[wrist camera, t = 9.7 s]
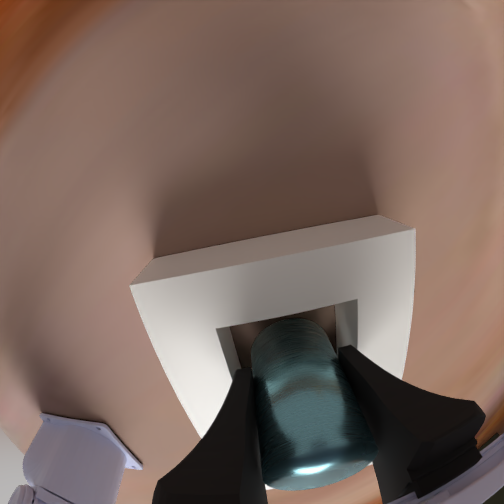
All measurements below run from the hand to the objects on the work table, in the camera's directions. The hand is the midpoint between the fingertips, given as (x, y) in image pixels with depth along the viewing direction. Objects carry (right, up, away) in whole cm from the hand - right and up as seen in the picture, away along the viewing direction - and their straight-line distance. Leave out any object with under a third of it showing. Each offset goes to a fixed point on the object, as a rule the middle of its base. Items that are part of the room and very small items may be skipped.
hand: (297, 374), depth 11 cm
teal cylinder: (0, 0, +2) cm, 2 cm away
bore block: (+1, -3, +5) cm, 6 cm away
